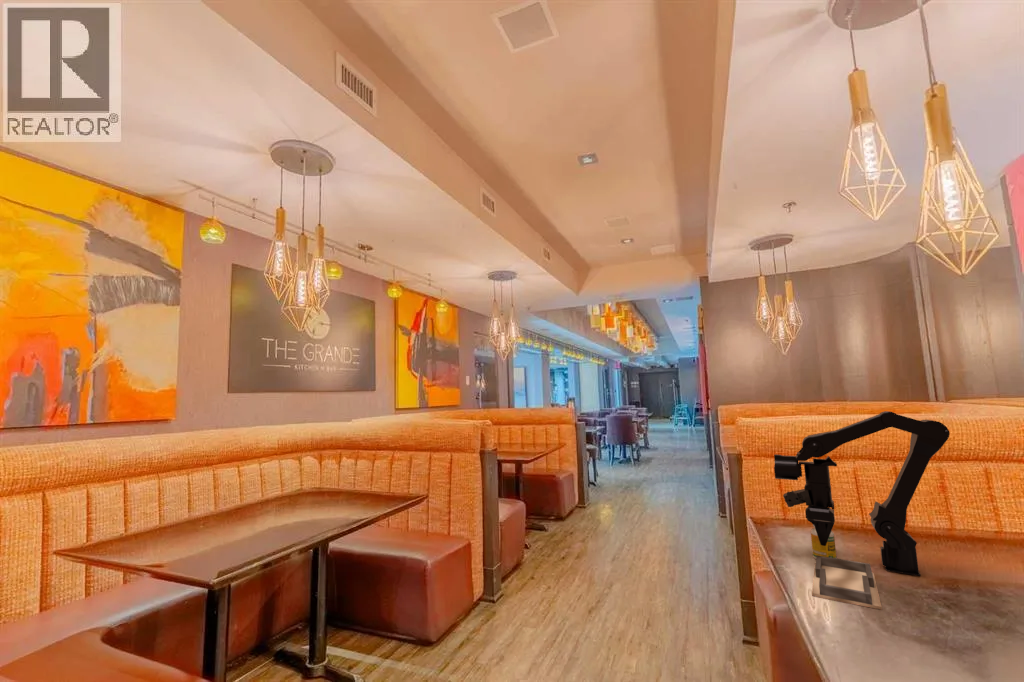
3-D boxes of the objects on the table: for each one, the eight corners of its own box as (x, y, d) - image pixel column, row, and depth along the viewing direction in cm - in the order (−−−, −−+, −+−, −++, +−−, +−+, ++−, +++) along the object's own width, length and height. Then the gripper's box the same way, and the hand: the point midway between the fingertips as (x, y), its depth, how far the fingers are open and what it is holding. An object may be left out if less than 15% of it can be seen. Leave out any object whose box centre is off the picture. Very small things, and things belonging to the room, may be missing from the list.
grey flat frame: (873, 575, 111) (872, 564, 111) (881, 609, 93) (880, 596, 93) (815, 565, 118) (814, 554, 118) (812, 595, 100) (811, 583, 100)
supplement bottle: (818, 554, 126) (815, 518, 127) (840, 560, 121) (836, 522, 123) (809, 558, 123) (805, 521, 124) (831, 564, 118) (827, 526, 120)
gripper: (786, 474, 137) (791, 528, 135) (781, 484, 122) (786, 545, 120) (831, 477, 131) (837, 534, 129) (831, 488, 115) (837, 552, 113)
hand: (823, 540), depth 123 cm, fingers open, 9 cm apart
